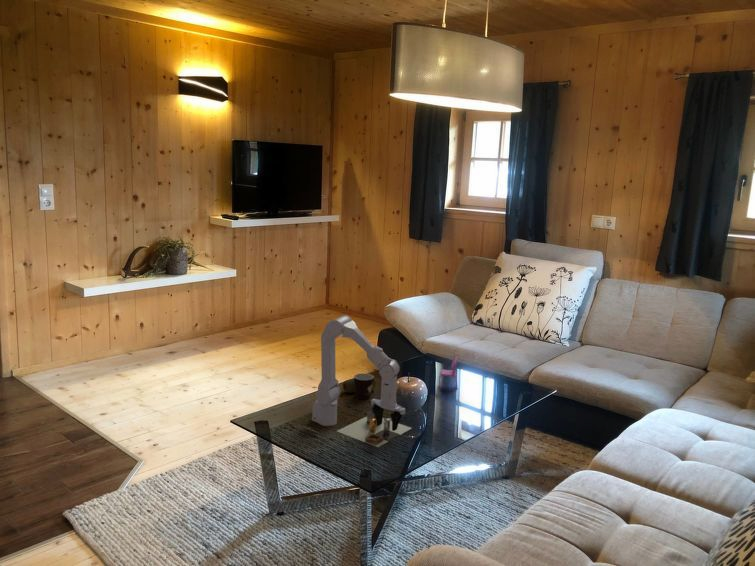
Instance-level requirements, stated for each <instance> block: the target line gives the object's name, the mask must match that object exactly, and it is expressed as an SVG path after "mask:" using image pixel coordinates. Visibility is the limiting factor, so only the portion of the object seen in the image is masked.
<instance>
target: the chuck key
mask: <svg viewBox="0 0 755 566" xmlns="http://www.w3.org/2000/svg"><path fill="white" fill-rule="evenodd" d="M390 421H392V418H389V417H387V418H384V422H383V423H384V429H383V435H384V436H389V435H390Z"/></svg>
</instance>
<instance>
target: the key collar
mask: <svg viewBox="0 0 755 566" xmlns="http://www.w3.org/2000/svg"><path fill="white" fill-rule="evenodd" d="M373 438H375V439H377V440H373ZM383 438H384V437H382V436H379V435H376V434H374V433H373V434H371V435H369V436H367V437H365V441H366V442H368V443H371V444H374V445H377V444H379V443H380V442H382V441H383ZM366 442H365V443H366ZM368 443H367V444H368ZM371 444H370V445H371Z"/></svg>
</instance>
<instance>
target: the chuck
mask: <svg viewBox="0 0 755 566" xmlns="http://www.w3.org/2000/svg"><path fill="white" fill-rule="evenodd" d="M366 417H367V424H368V425H370V419H371V418H375V419H376V417H375V414H374V412H373V410H372V408H371V409H368V410H367V411H366ZM376 426H378V425H377V421H376Z"/></svg>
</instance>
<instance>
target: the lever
mask: <svg viewBox="0 0 755 566" xmlns="http://www.w3.org/2000/svg"><path fill="white" fill-rule="evenodd" d="M369 431H371V432H375V431H376V419H375V418H371V419H370V425H369Z"/></svg>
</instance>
